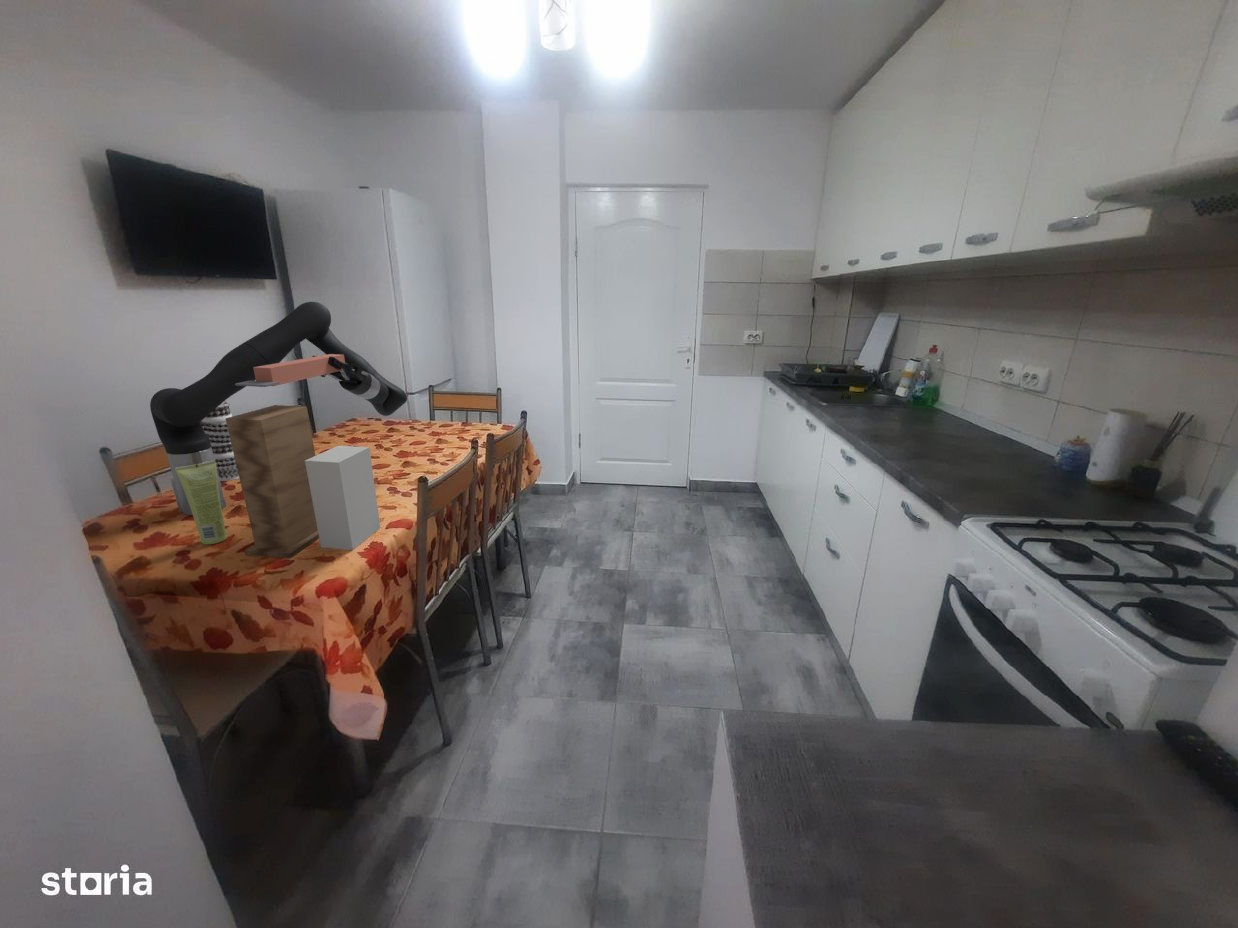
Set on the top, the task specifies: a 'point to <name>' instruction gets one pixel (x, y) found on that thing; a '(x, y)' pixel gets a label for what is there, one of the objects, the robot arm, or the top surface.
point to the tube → (204, 500)
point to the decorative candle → (221, 441)
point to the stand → (275, 478)
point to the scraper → (292, 371)
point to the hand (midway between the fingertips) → (321, 359)
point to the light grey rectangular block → (343, 496)
